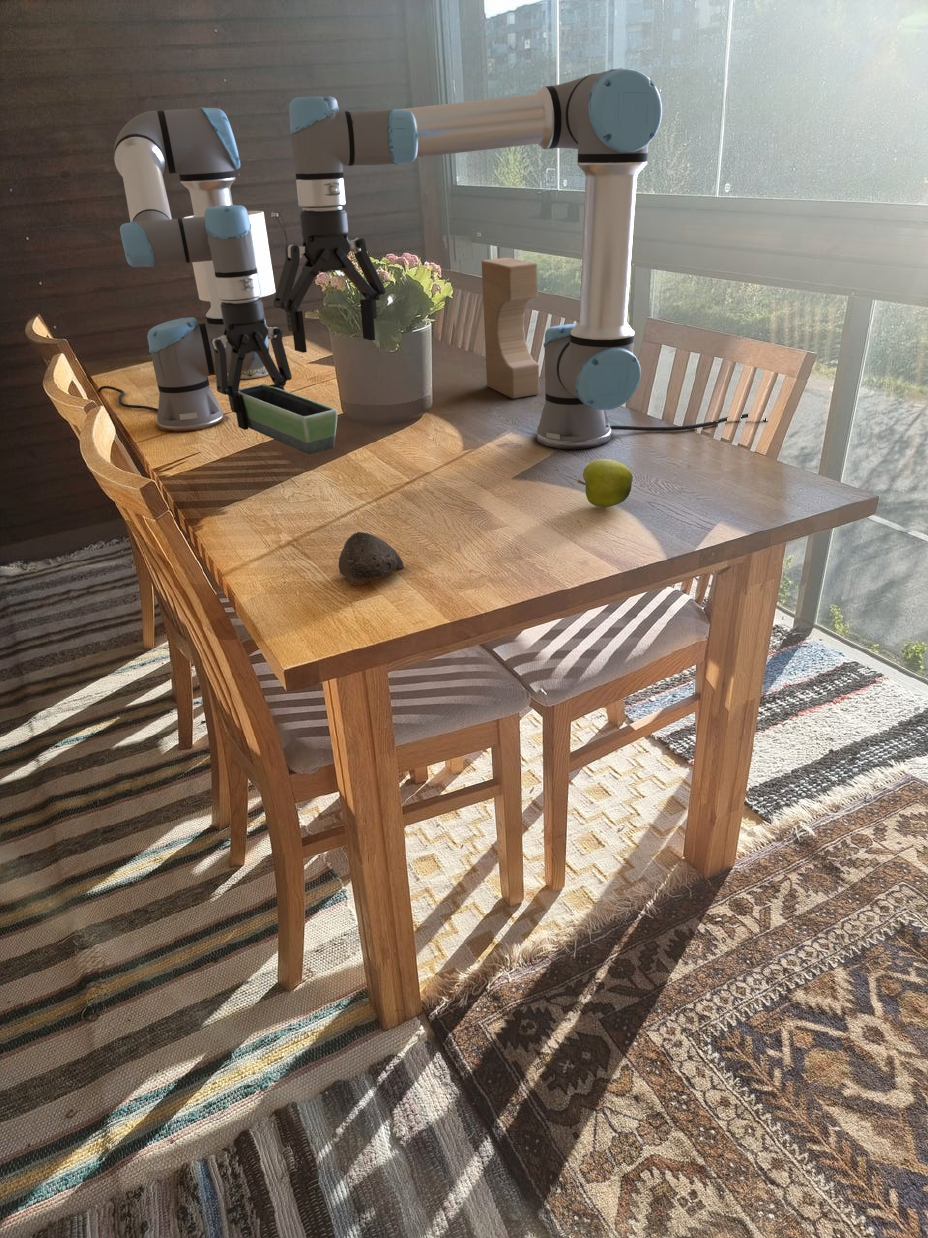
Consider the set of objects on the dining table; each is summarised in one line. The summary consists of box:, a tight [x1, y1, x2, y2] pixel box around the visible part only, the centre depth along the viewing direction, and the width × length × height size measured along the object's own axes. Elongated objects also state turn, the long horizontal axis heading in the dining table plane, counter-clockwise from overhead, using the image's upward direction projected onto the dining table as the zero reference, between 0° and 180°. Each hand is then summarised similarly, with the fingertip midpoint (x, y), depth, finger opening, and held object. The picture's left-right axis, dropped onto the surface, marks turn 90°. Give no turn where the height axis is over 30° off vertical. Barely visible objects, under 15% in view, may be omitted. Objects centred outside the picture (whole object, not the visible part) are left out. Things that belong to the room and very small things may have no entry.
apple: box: [577, 458, 634, 508], centre depth 149 cm, size 8×9×8 cm
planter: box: [238, 383, 338, 455], centre depth 162 cm, size 28×7×7 cm, turn 39°
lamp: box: [183, 210, 277, 380], centre depth 242 cm, size 21×21×42 cm
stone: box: [338, 531, 405, 586], centre depth 130 cm, size 10×8×10 cm
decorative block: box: [481, 256, 540, 399], centre depth 213 cm, size 15×8×30 cm, turn 24°
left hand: (261, 423), depth 171 cm, fingers closed on planter, 7 cm apart
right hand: (335, 345), depth 151 cm, fingers open, 13 cm apart
